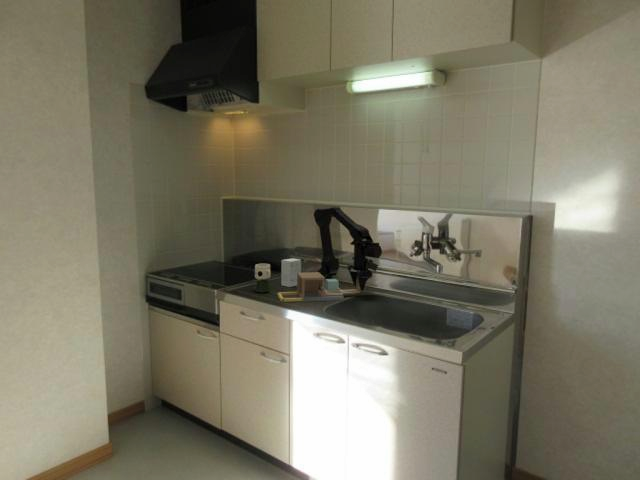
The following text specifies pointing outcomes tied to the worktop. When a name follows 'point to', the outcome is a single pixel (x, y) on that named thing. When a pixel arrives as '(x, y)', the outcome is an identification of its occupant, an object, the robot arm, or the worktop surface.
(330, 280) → the block
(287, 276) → the small box
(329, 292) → the sled
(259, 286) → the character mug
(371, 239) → the robot arm
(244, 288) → the worktop surface
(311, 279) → the tunnel track
